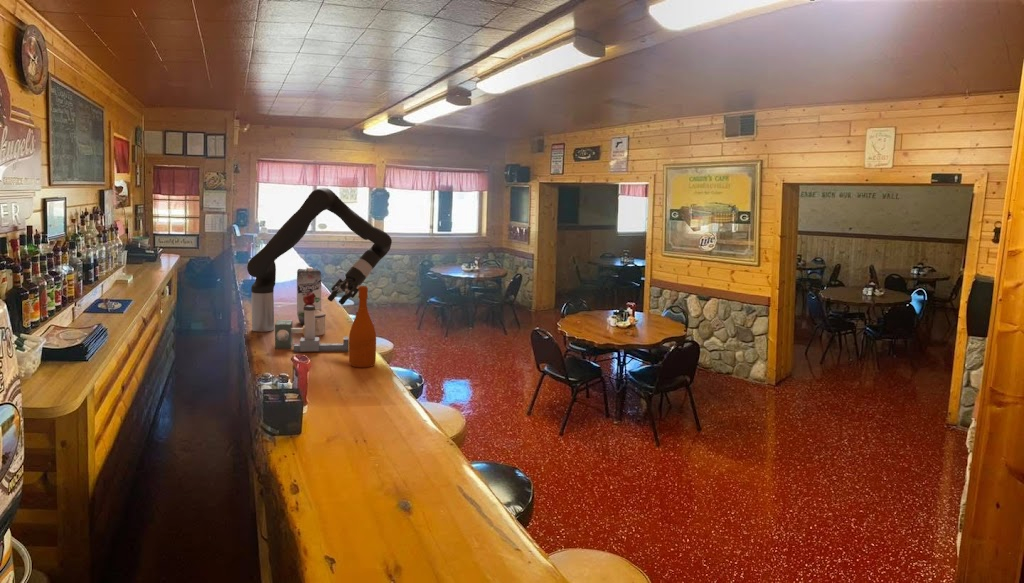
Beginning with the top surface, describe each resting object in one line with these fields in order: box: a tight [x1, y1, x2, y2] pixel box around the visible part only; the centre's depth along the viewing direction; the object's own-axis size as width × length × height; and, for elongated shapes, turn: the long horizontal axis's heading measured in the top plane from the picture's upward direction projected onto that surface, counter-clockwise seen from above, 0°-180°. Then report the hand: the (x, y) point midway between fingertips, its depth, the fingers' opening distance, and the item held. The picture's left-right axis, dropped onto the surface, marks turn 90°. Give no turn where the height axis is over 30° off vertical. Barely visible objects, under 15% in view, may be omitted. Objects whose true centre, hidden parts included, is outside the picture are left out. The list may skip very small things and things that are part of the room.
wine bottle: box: [348, 285, 377, 369], centre depth 239 cm, size 10×10×30 cm
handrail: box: [293, 336, 349, 353], centre depth 259 cm, size 5×21×5 cm, turn 104°
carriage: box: [299, 306, 320, 351], centre depth 256 cm, size 6×7×18 cm
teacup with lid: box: [315, 308, 326, 337], centre depth 284 cm, size 12×9×12 cm
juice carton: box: [296, 266, 322, 326], centre depth 304 cm, size 9×10×27 cm
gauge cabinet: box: [274, 319, 294, 350], centre depth 262 cm, size 8×6×10 cm
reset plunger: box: [291, 325, 305, 336], centre depth 263 cm, size 3×9×3 cm, turn 104°
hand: (334, 301), depth 263 cm, fingers open, 8 cm apart
